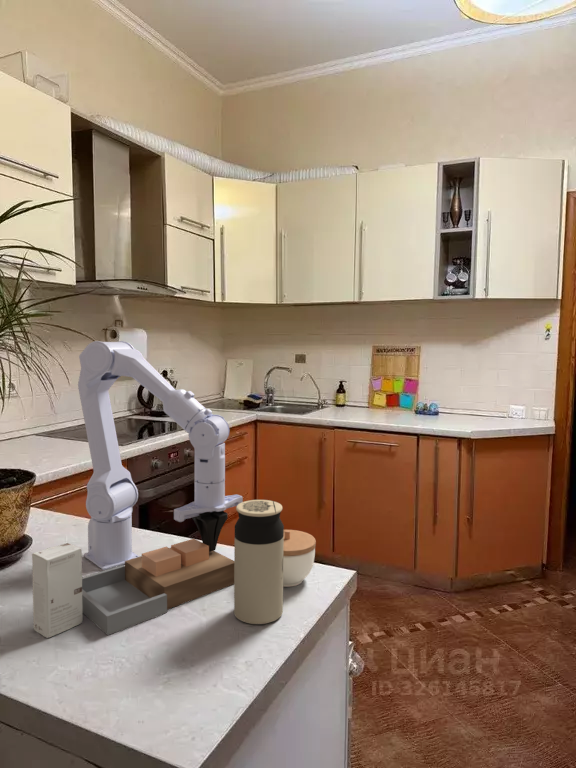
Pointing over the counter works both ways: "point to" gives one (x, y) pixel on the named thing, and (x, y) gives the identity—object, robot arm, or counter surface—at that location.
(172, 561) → the tile front
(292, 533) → the lidded jar
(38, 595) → the skincare box
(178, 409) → the robot arm
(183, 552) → the tile rear
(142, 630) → the counter surface
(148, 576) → the dark wood platform
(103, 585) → the tray
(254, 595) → the travel mug
